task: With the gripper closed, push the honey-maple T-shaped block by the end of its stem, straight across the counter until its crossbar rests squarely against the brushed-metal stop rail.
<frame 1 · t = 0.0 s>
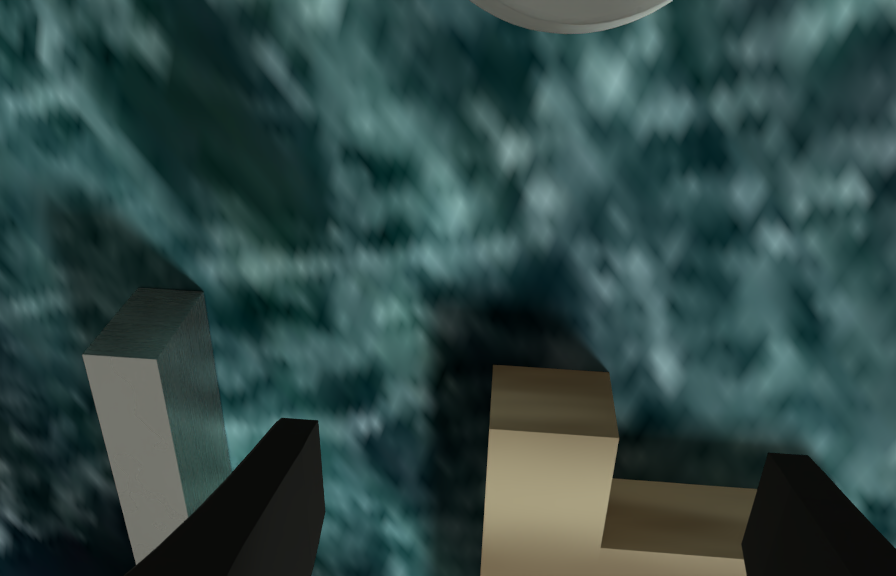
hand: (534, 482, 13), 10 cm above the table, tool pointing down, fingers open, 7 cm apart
stop rail: (209, 507, 28), on the table
maple t block: (535, 510, 27), on the table
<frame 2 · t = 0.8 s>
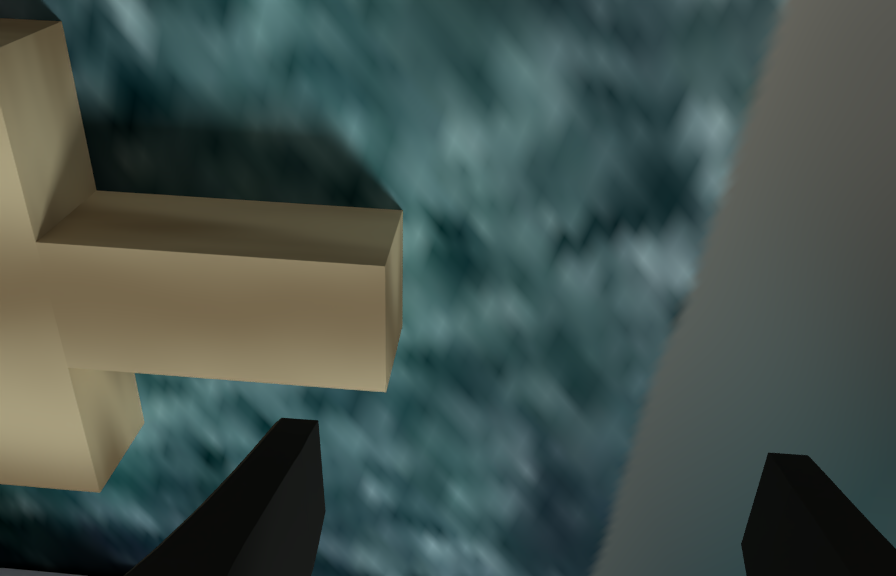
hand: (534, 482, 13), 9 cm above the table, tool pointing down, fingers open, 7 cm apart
maple t block: (46, 245, 22), on the table
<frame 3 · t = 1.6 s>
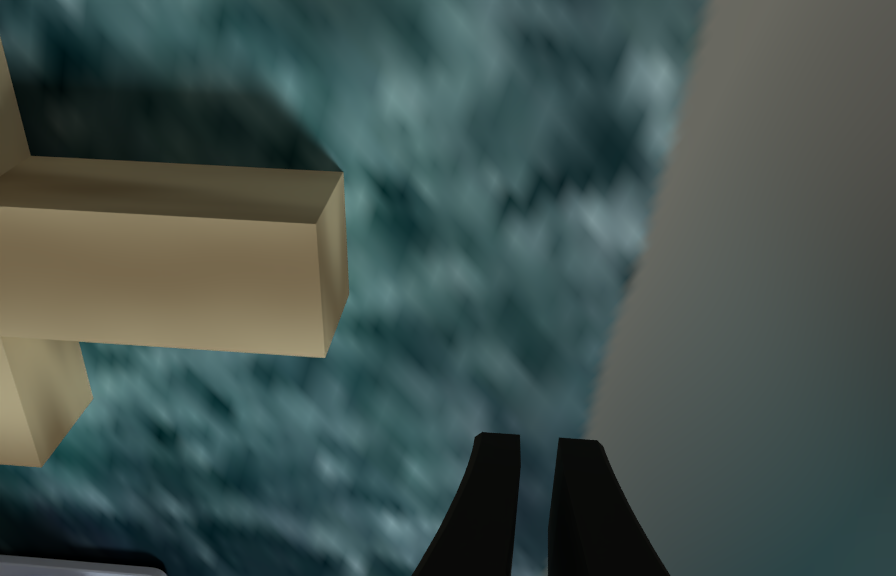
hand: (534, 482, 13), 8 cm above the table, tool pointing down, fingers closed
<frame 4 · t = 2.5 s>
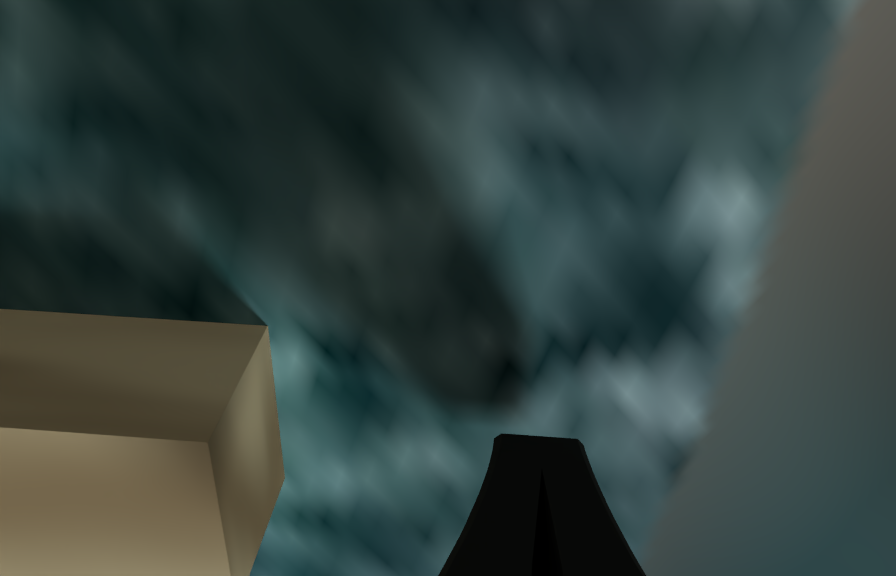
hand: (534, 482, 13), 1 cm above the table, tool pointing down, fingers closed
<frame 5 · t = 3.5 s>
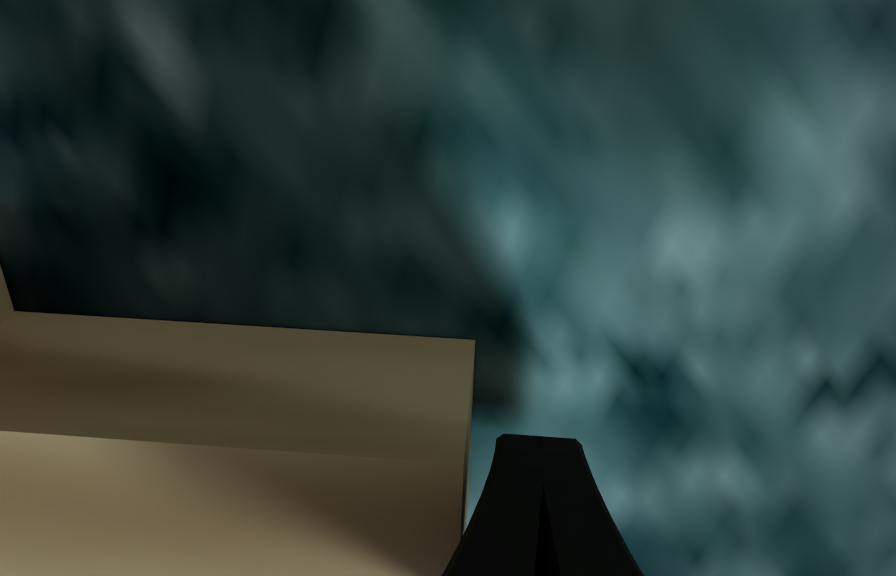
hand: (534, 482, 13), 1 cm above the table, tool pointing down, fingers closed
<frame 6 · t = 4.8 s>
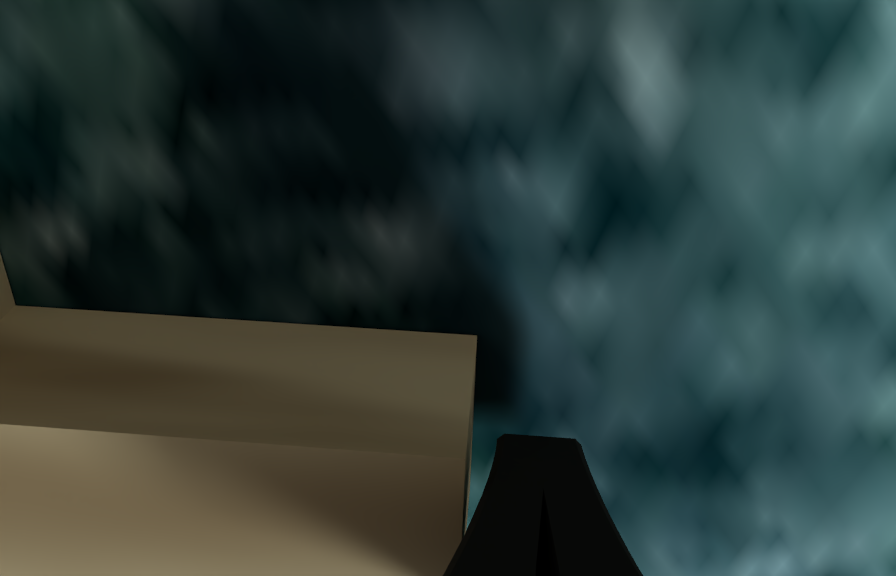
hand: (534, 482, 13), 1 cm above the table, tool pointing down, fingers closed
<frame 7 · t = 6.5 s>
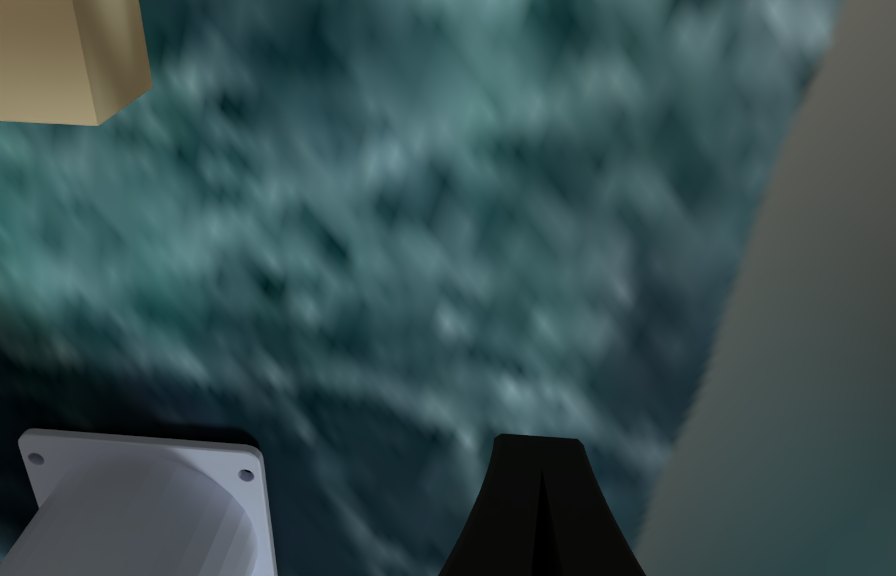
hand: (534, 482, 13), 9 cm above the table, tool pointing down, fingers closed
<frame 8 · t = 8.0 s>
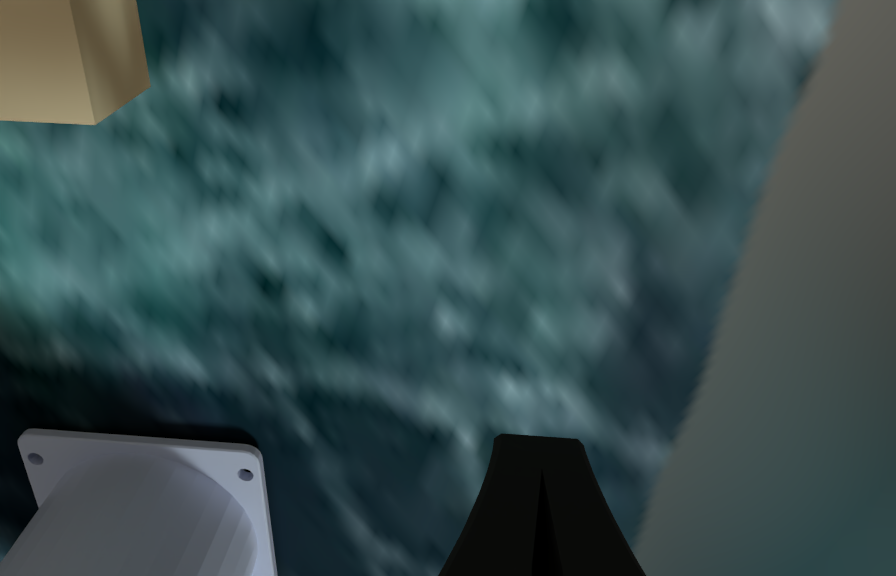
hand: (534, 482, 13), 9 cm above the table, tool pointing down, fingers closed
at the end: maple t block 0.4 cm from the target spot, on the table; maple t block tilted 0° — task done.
